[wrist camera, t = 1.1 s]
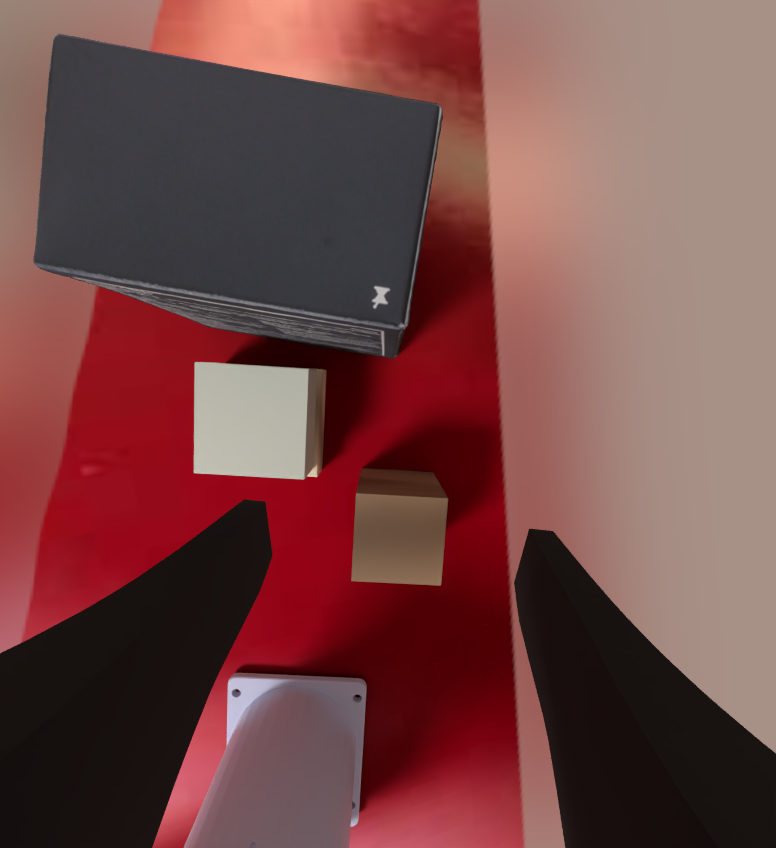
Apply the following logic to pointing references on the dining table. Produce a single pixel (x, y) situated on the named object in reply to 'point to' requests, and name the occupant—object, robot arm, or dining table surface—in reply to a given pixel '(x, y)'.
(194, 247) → the small box
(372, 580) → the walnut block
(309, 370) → the tower top
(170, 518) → the dining table surface
